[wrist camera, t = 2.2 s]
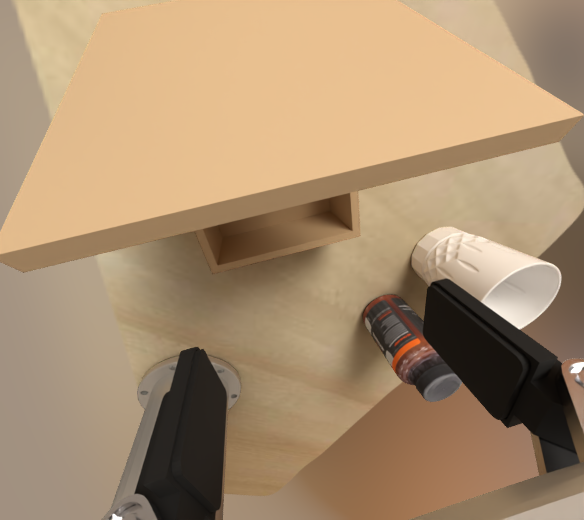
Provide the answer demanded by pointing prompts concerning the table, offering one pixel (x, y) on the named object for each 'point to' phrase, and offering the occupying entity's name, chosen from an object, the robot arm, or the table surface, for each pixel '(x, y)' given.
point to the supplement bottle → (409, 348)
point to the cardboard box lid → (258, 119)
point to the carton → (280, 232)
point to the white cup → (488, 273)
